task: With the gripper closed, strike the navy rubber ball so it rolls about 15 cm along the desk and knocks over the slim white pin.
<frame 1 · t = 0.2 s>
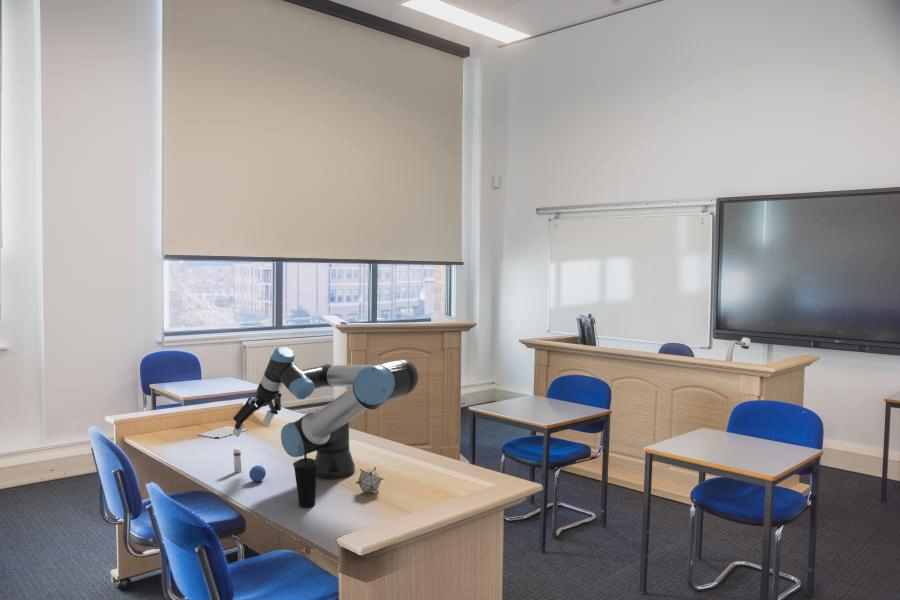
hand: (250, 429, 245), 15 cm above the table, tool tilted 35°, fingers open, 13 cm apart
ball: (257, 473, 233), on the table
drinking cup: (307, 505, 210), on the table
game die: (369, 493, 220), on the table
pin: (237, 471, 244), on the table
paper stack: (222, 437, 295), on the table
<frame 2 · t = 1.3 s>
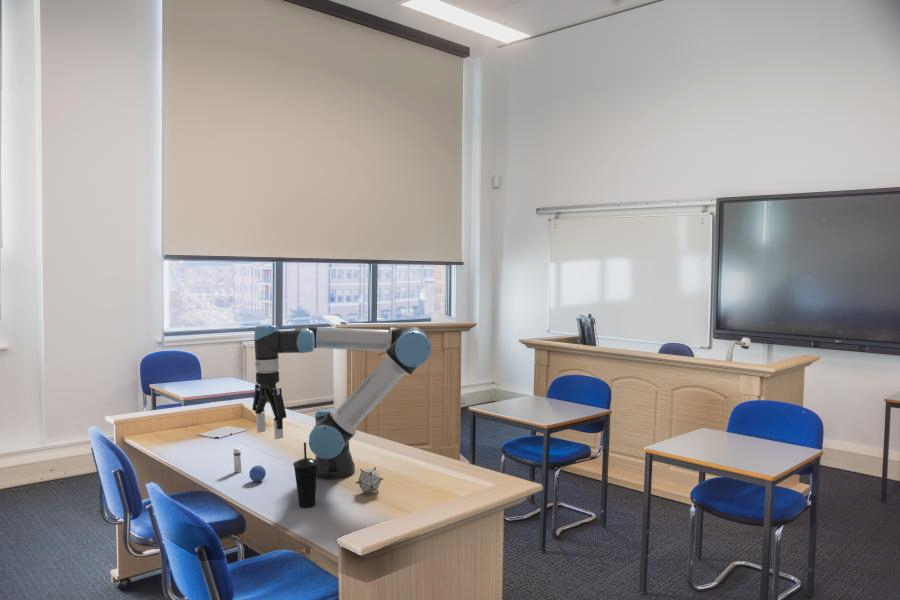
hand: (269, 435, 225), 18 cm above the table, tool pointing down, fingers open, 11 cm apart
nothing on the table moved.
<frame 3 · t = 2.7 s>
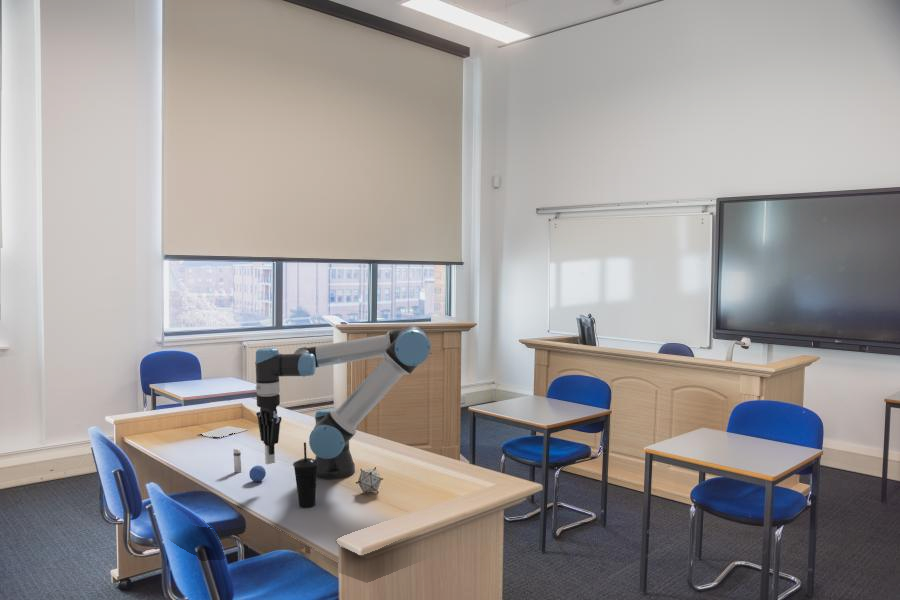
hand: (270, 463, 226), 9 cm above the table, tool pointing down, fingers closed
nothing on the table moved.
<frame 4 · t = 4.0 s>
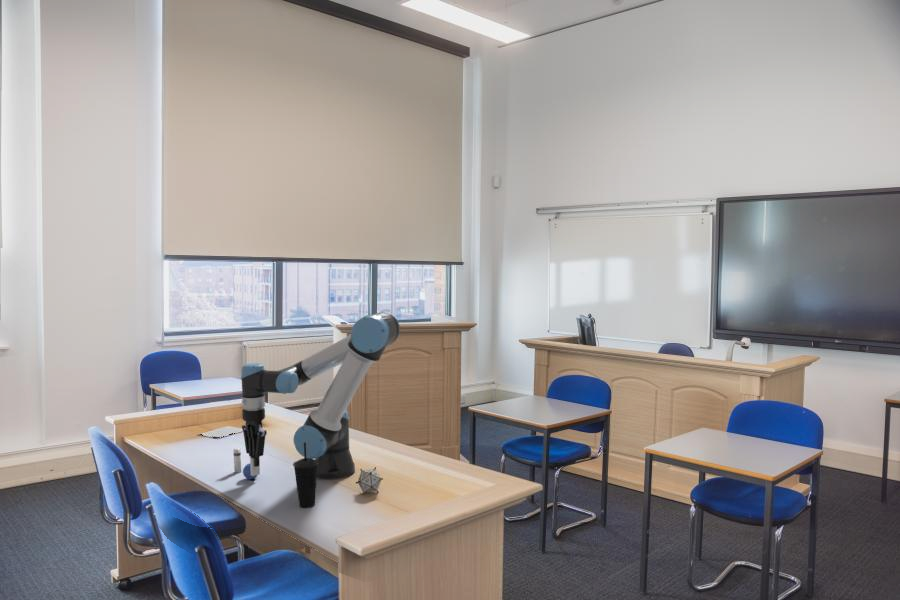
hand: (255, 474, 233), 2 cm above the table, tool pointing down, fingers closed
ball: (251, 471, 236), on the table
everything else where it was.
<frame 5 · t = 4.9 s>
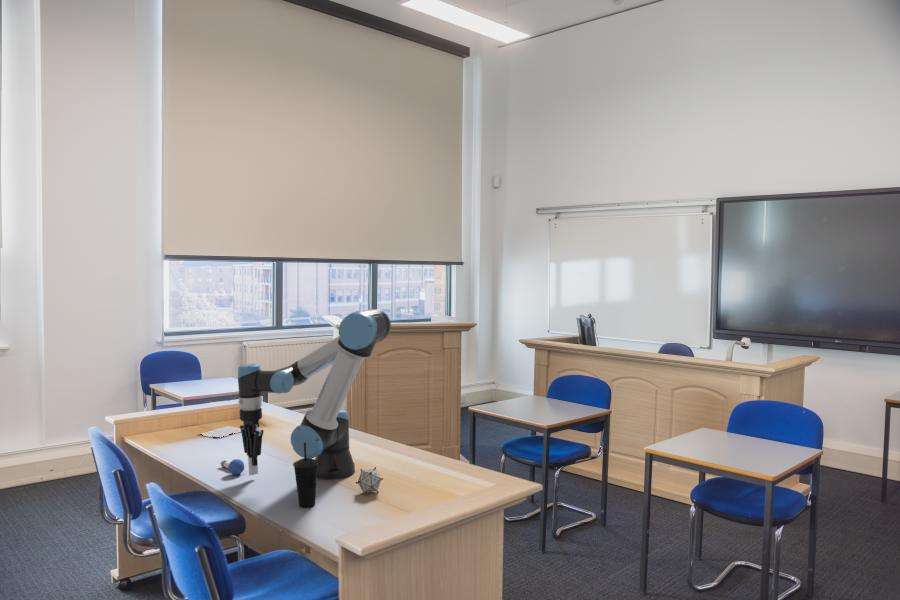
hand: (253, 474, 236), 2 cm above the table, tool pointing down, fingers closed
ball: (236, 466, 241), on the table
pin: (235, 467, 245), point 1 cm above the table, tilted 90°
everything else where it was.
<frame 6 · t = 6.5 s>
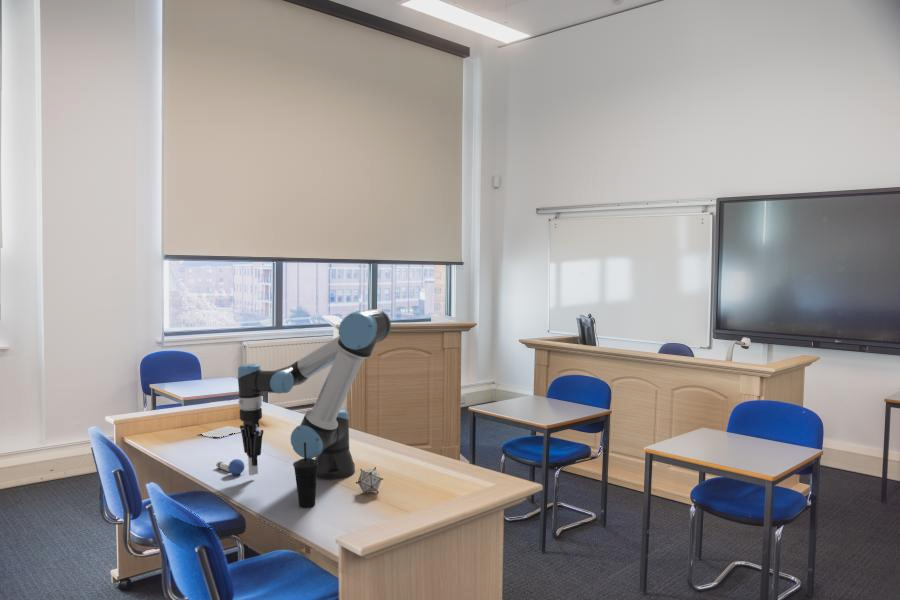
hand: (253, 474, 236), 2 cm above the table, tool pointing down, fingers closed
pin: (231, 469, 244), point 1 cm above the table, tilted 90°
everything else where it was.
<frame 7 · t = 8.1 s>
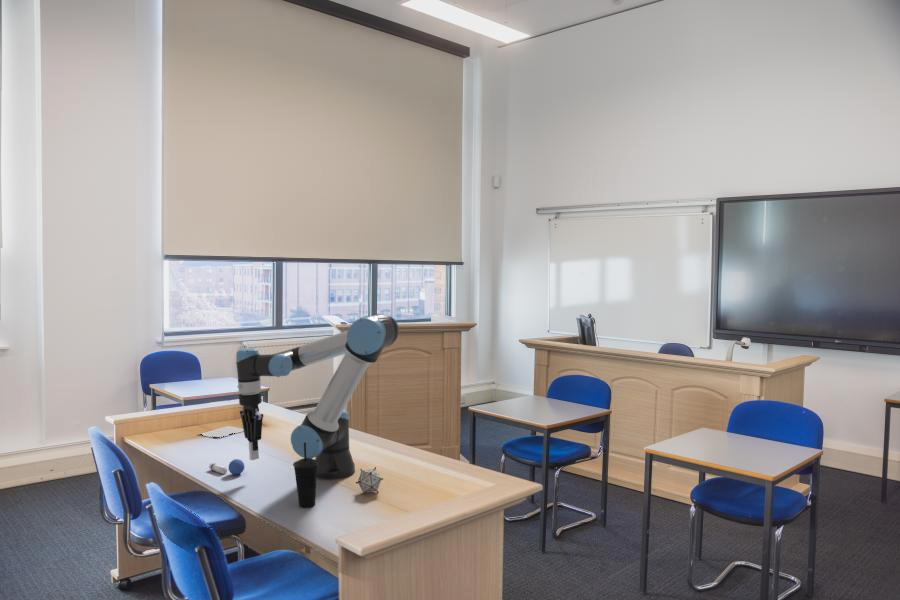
hand: (254, 458, 235), 7 cm above the table, tool pointing down, fingers closed
pin: (224, 470, 242), point 1 cm above the table, tilted 90°
everything else where it was.
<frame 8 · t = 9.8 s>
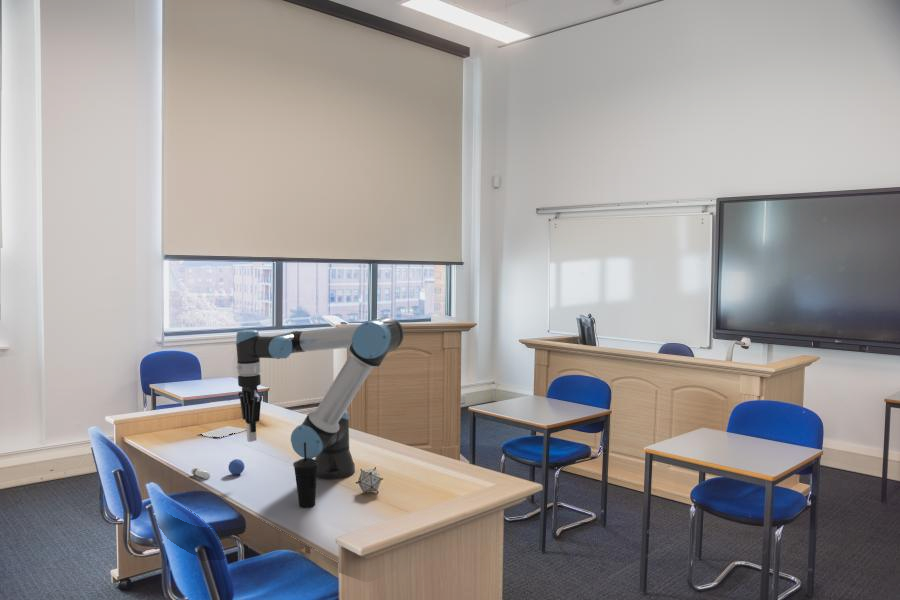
hand: (252, 440, 235), 14 cm above the table, tool pointing down, fingers closed
pin: (207, 475, 237), point 1 cm above the table, tilted 90°
everything else where it was.
at the end: pin tilted 90°; pin never touched the robot; ball moved 12.8 cm from its start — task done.
